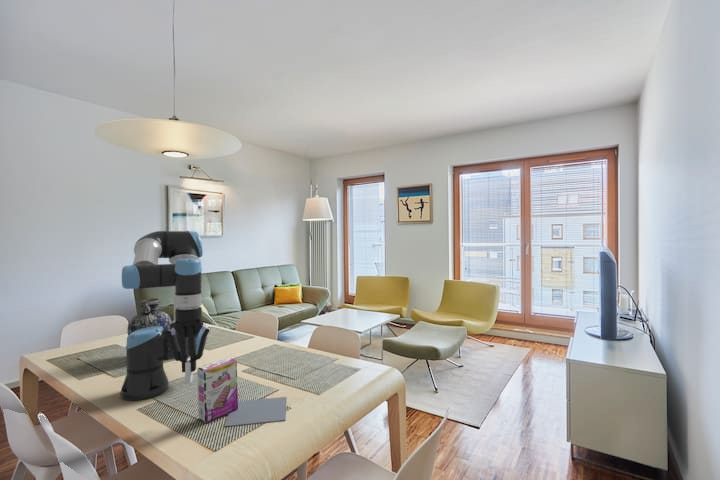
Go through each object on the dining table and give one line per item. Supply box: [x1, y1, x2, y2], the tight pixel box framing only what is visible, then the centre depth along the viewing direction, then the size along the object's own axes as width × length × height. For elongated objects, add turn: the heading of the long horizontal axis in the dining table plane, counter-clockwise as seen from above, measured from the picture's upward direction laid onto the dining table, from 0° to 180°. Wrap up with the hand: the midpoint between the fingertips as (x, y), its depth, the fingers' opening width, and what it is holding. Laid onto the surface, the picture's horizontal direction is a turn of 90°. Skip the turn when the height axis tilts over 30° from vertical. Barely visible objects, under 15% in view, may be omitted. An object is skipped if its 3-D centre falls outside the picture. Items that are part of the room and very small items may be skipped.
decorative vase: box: [126, 297, 173, 336], centre depth 167 cm, size 21×19×28 cm
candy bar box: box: [197, 357, 239, 424], centre depth 110 cm, size 11×5×16 cm, turn 141°
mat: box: [224, 396, 287, 428], centre depth 113 cm, size 18×16×1 cm
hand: (189, 381), depth 109 cm, fingers closed
